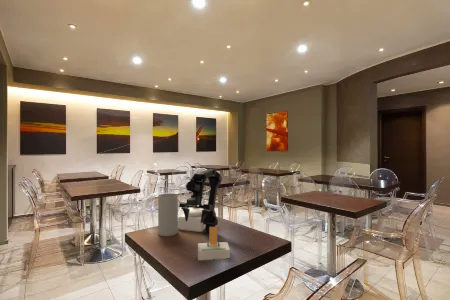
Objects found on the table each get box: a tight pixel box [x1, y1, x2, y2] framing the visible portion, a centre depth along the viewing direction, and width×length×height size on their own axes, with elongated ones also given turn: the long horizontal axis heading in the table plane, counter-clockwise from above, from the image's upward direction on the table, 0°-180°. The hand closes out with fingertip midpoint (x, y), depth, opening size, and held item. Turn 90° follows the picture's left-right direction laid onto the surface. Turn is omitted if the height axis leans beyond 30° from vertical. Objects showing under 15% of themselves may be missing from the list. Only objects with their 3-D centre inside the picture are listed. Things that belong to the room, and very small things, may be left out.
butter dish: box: [178, 205, 206, 233], centre depth 170 cm, size 18×18×16 cm
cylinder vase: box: [157, 192, 179, 237], centre depth 156 cm, size 12×12×25 cm
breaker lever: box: [208, 226, 218, 245], centre depth 126 cm, size 2×4×9 cm, turn 97°
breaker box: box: [197, 241, 231, 261], centre depth 125 cm, size 10×16×6 cm, turn 96°
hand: (193, 222), depth 133 cm, fingers open, 9 cm apart
